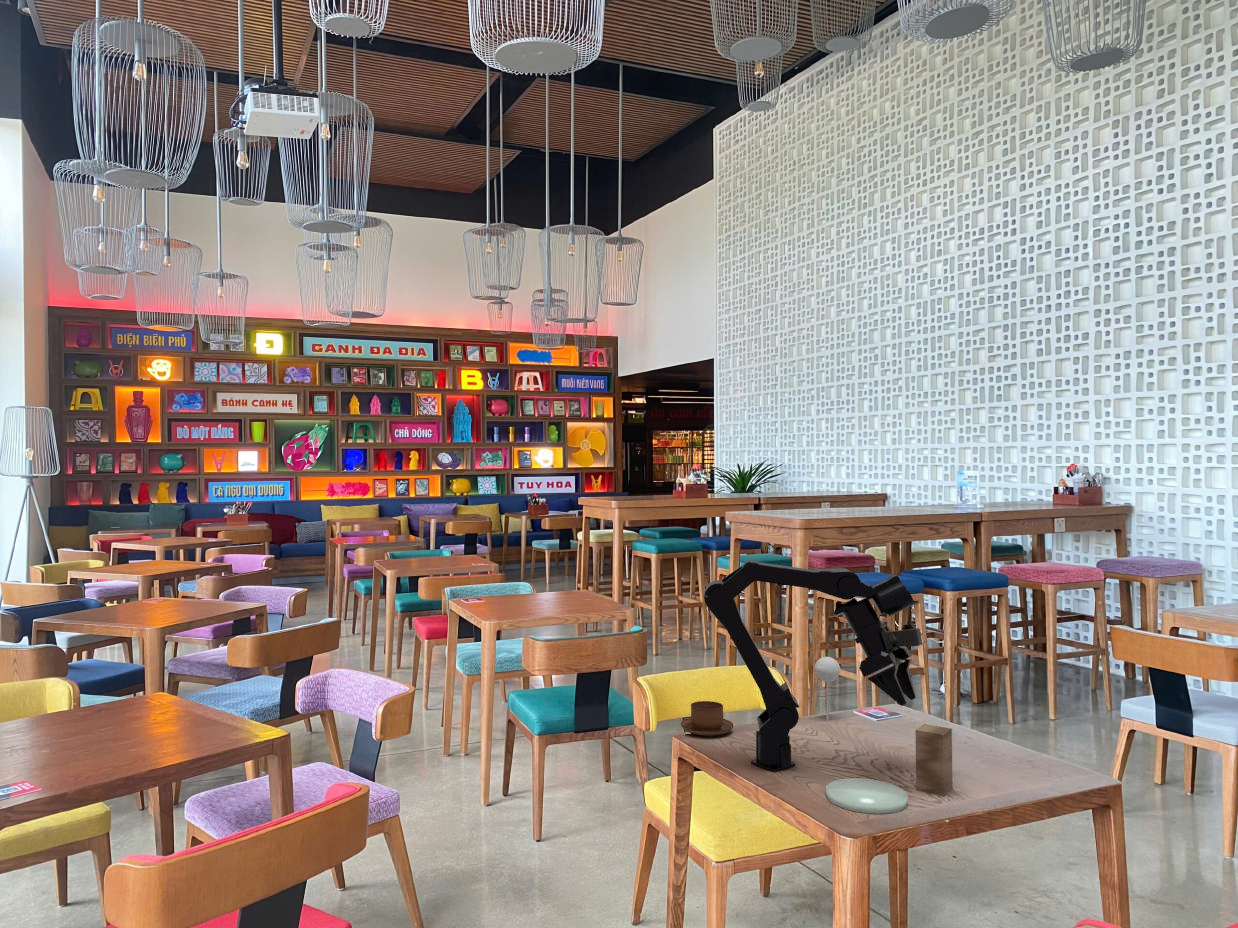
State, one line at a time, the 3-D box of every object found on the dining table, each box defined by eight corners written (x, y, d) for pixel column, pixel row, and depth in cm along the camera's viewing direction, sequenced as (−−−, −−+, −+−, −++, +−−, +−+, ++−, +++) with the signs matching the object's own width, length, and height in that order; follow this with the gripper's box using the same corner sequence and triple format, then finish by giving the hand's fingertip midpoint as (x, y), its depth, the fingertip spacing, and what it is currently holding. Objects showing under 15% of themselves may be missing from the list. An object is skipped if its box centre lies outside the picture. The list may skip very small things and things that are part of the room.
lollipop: (822, 723, 195) (821, 659, 195) (810, 717, 201) (809, 655, 201) (845, 721, 197) (845, 658, 197) (832, 715, 202) (832, 653, 203)
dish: (809, 795, 149) (809, 788, 149) (858, 779, 157) (858, 772, 157) (875, 820, 138) (875, 812, 138) (924, 801, 146) (924, 794, 146)
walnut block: (916, 789, 152) (915, 729, 152) (925, 782, 156) (924, 723, 156) (944, 796, 149) (943, 734, 149) (952, 788, 153) (951, 728, 153)
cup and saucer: (671, 728, 192) (671, 701, 192) (715, 722, 197) (715, 696, 197) (697, 742, 181) (697, 714, 181) (743, 735, 186) (743, 708, 186)
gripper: (893, 610, 153) (939, 689, 147) (913, 607, 169) (954, 679, 163) (841, 636, 157) (883, 714, 151) (865, 631, 173) (904, 702, 167)
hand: (908, 701), depth 158 cm, fingers open, 9 cm apart
